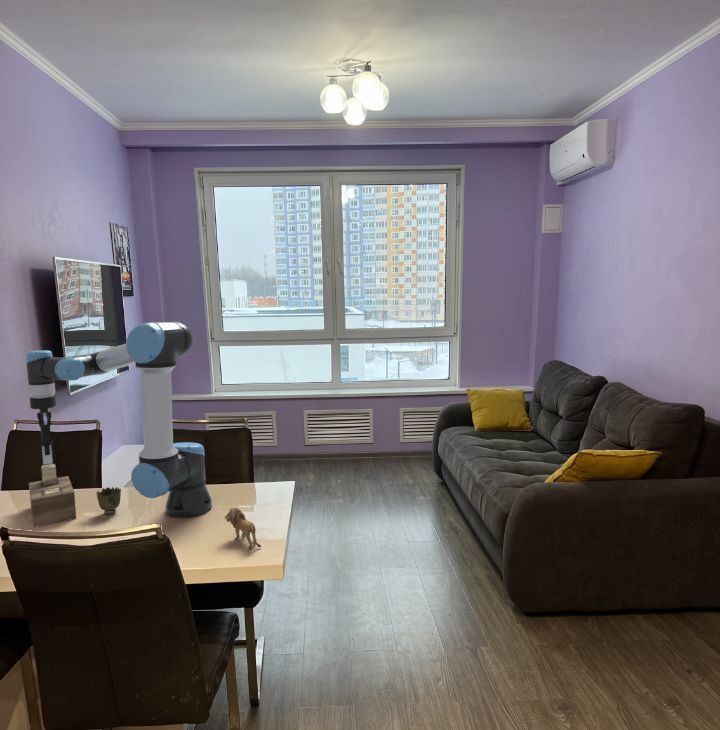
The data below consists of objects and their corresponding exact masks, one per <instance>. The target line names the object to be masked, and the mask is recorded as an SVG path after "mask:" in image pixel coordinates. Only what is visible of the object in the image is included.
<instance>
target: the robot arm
mask: <svg viewBox="0 0 720 730" xmlns="http://www.w3.org/2000/svg"><path fill="white" fill-rule="evenodd" d="M193 342H194V336H193V334H192V331H191V329H190V328H189V327H188V326H187V325H186V324H184V323H182V322H179V321H163V322H162V321H161V322H160V321H159V322H145V323H141V324H140V323H139V324H138V325H135V326H134V327H133V328H132V329H131V331H129V333H128V335H127V338H126V342H125V343H123V344H120V345H117V346H116V345H115V346H113V347H111V348H107V349H103V350H100V351H97V352H93V353H89V354H83V355H74V356H73V355H72V356H64V357H61V356H60V357H57V356H56V357H55V356H53V352H52V351H51V350H46V349H45V350H42V349H41V350H32V351H31V350H30V351H28V352H27V353H26V363H25V364H26V372H27V373H26V374H27V382H28V387H26V391H28V392H29V393H28V394H29V396H30V398H29V406H30V409H32V410H39V412H36V418H37V419H38V421H37V422H38V426H39V428H40V439H41V440H40V442H41V444H39V447H41V450H42V451H41V452H42V453H41V454H42V463H43V464H42V465H43V466H45V465H51V464H54V463H53V449H52V444H53V443H54V442H53V440H52V436H51V435H52V434H51V426H52V421H51V418H52V413H51V411H49V409H52V408H55V407H56V406H57V400H56V396H55V394H56V386H55V385H56V383H55V380H56V381H66V382H70V381H78V380H79V379H81V378H84V377H89V376H99V375H103V374H107V373H109V372H110V371H114V370H118V369H121V368H125V367H129V366H131V365H135V368H136V369H137V370H138V371H139V372H140V377H141V379H140V380H141V403H142V407H141V408H142V430H143V431H142V432H143V433H142V435H143V448H142V450H140V452H139V453H138V464H136V465H135V466H134V468H133V469H132V471H131V473H130V474H131V476H130V479H131V483H132V485H133V487H134V489H135V490H136V491H137V492H138V493H139V494H140V495H141V496H143V497H145V498H149V499H155V498H159V497H161V496H165V495H166V494H167V493H168V495H167V496H168V497H167V500H166V503H165V514H166V515H168V516H170V517H173V518H191V517H196V515H197V516H200V515H203V514H204V512H205V513H207V512H208V510H209V509H210V508H211V507H212V508H213V503H212V502H213V501H212V497H211V496H210V491H209V489H208V487H207V485H206V484H207V483H206V464H205V463H206V462H205V461H206V459H205V456H206V454H205V448H204V445H202V444H201V443H198V442H189V441H188V442H175V443H174V431H173V429H174V428H173V396H172V395H173V394H172V393H173V390H172V372H173V370H174V369H175V368H176V366H177V358H180V357H183V356H185V355H186V354H187V353H188V352H189V351H190V350H191V349H192V346H193ZM212 508H211V509H212ZM211 509H210V510H211ZM210 510H209V511H210ZM206 511H207V512H206ZM202 513H203V514H202ZM199 514H200V515H199Z"/></svg>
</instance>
